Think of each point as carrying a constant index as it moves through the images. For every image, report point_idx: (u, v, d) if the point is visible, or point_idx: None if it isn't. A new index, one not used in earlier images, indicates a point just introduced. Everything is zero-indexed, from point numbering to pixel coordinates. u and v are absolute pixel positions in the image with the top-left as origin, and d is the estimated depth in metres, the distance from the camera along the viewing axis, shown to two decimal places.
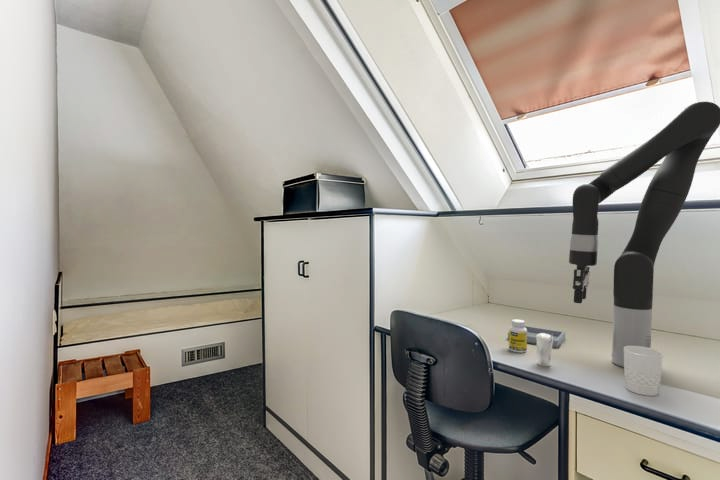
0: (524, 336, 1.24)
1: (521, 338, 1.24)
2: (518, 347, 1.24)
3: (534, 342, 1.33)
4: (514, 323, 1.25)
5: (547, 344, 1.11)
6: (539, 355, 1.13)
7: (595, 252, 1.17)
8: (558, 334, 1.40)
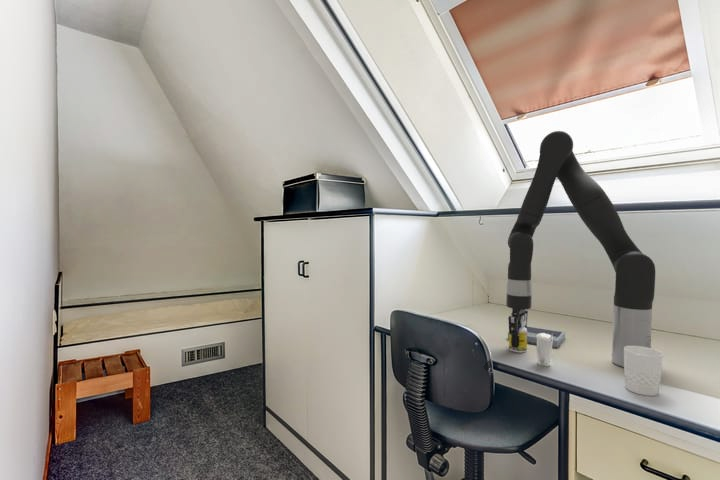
0: (524, 336, 1.24)
1: (521, 337, 1.24)
2: (518, 347, 1.24)
3: (534, 342, 1.33)
4: None
5: (547, 344, 1.11)
6: (539, 355, 1.13)
7: (528, 296, 1.23)
8: (558, 334, 1.40)
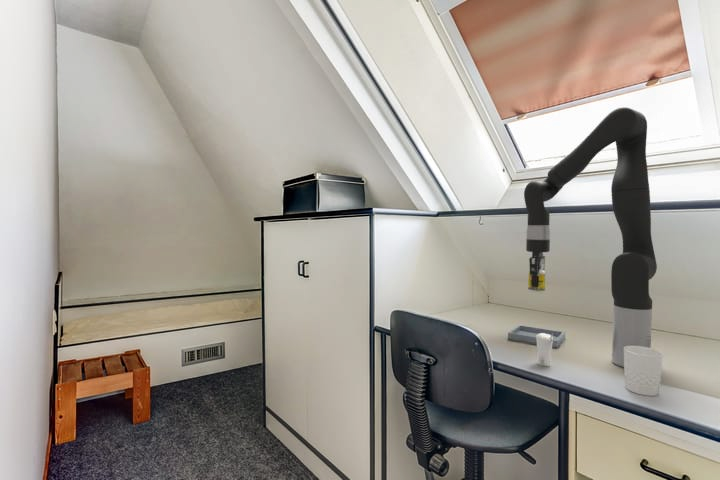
0: (543, 277, 1.35)
1: (540, 278, 1.35)
2: (538, 287, 1.35)
3: (534, 342, 1.33)
4: None
5: (547, 344, 1.11)
6: (539, 355, 1.13)
7: (547, 240, 1.34)
8: (558, 334, 1.40)
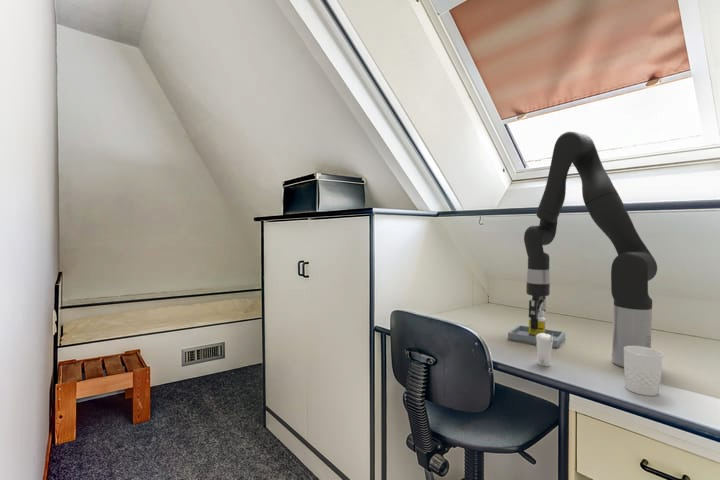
0: (543, 324, 1.36)
1: (540, 326, 1.36)
2: None
3: (534, 342, 1.33)
4: (533, 313, 1.37)
5: (547, 344, 1.11)
6: (539, 355, 1.13)
7: (547, 284, 1.35)
8: (558, 334, 1.40)
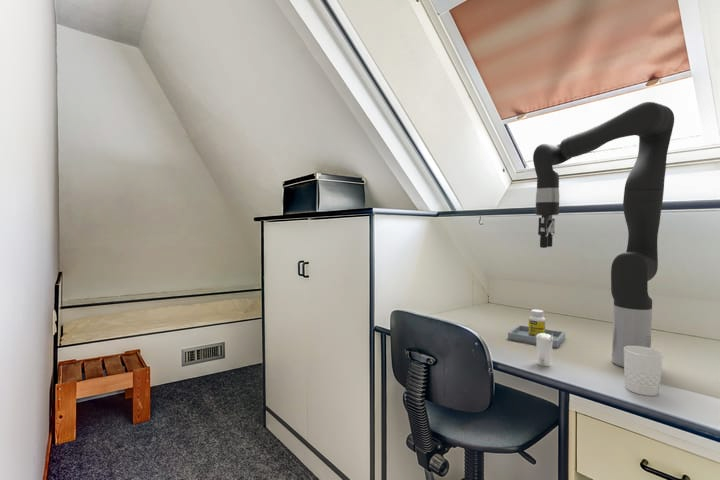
0: (543, 324, 1.36)
1: (540, 326, 1.36)
2: None
3: (534, 342, 1.33)
4: (533, 313, 1.37)
5: (547, 344, 1.11)
6: (539, 355, 1.13)
7: (557, 202, 1.34)
8: (558, 334, 1.40)
